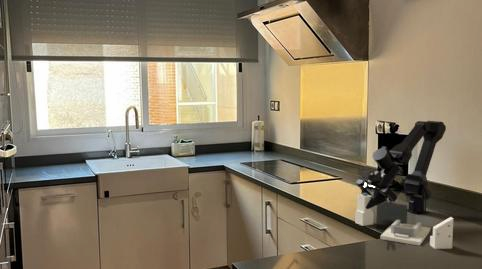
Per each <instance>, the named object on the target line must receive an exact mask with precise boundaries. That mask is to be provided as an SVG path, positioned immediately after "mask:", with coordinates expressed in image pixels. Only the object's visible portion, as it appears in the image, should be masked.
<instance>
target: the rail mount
mask: <svg viewBox="0 0 482 269" xmlns="http://www.w3.org/2000/svg"><path fill="white" fill-rule="evenodd" d="M430 232H431V227H427V226H422V222H416V224H411V223H401V219H398V218H397V219H396V220H394V221H393V223H392V224H391V225H389V226H388V227H387V228H386V229H385V230H384V231H383V233H381V235H380V238H379V239H380V240H383V241H384V240H385V241H389V242H397V243H401V244H402V243H403V244H409V245H413V246H418V247H419V246H421V245H422V243H423V241H424V240H425V239H426V238H427V236H428V235H429V233H430Z"/></svg>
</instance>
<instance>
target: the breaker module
mask: <svg viewBox="0 0 482 269" xmlns="http://www.w3.org/2000/svg"><path fill="white" fill-rule="evenodd" d="M356 195H357V197H356V198H357V199H356V200H357V201H356V209H355V216H354V217H355V219H354V220H355V222H354V223H355V224H358V225H359V226H362V227H365V226H370V225H374V213H375V212H374V211H373V207H372V208H370V209H367V208H366V206H367V204H368V203H369V201H370V200H371V198H372V197H373V195H372V196H370V195H368V194H367V193H362V194H361V193H359V194H356Z"/></svg>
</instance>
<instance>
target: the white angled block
mask: <svg viewBox="0 0 482 269" xmlns="http://www.w3.org/2000/svg"><path fill="white" fill-rule="evenodd" d="M453 232H454V218H453V217H452V216H449V217H448V218H446V219H445V220H443V221H441V222H440V223H438V224H436V225H434V226H433V227H432V235H430V236H429V246H430V247H431V248H433V249H435V250H441V249H443V250H444V249H445V250H446V249H453V236H454V235H453Z"/></svg>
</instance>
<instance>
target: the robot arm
mask: <svg viewBox="0 0 482 269" xmlns="http://www.w3.org/2000/svg"><path fill="white" fill-rule="evenodd" d="M446 129H447V126H446V125H445V123H444V122H443V121H438V120H437V121H436V120H427V121H424V120H423V121H421V120H418V121H416V122H415V124H414V127H413V128H412V129H411V130H410V131H409V133H408V134H407V135H406V137H405V138H404V139H403V140H402V142H401V143H398V144H395V146H393V147H392V148H391V149H389V148H388V147H387V146H384V145H383V146H381V148H379V149H377V150H375V151H373V153H372V158H373V160H374V162H375V163H376V165H377V166H378V167H379V168H380V169H381V170H380V171H378V170H375V171H371V170H367V169H364V170H363V173H362V175H361V178H357V180H356V181H355V184H356V185H357V187H358V188H359V189H360V190H361V192H360V194H362V193H367V194H368V195H370V196H372V198H371V200H370V201H369V203H368V204H367V206H366V208H367V209H370V208H372V209H373V207H375V206H378V205H380V204H383V203H385V202H388V201H389V202H391V203H395V202H396V200H398V195H397V193H396V192H395V191H394V190H393V189H392V188H391V187H389V186H393V185H394V183H393V181H394V180H395V178H396V177H397V176H398V175H401V176H402V175H404V171H403V167H402V166H399V165H407V164H408V163H409V162H410V160H411V158H412V156H413V153H412V152H413V150H414V149H415V148H416V146H417V145H418V143H419V142H420V141H421V139H422V138H423V142H422V145H421V149H420V151H419V154H418V157H417V160H416V163H415V166H414V169H413V172H411V173H408V174H407V175H406V178H405V181H404V185H403V189H404V192H405V193H404V194H405V196H406V197H409V200H408V208H406V211H407V212H410V213H413V214H416V215H420V214H422V215H423V214H427V213H430V211H429V210H427V200H430V199H431V197H432V192H431V191H430V188H428V185H429V182H428V178H427V173H428V170H429V167H430V163H431V160H432V158H433V155H434V152H435V148H436V145H437V144H438V143H439V141H440V140H442V138H443V137H444V134H445V132H446ZM372 192H373V194H372ZM387 199H388V200H387Z"/></svg>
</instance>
